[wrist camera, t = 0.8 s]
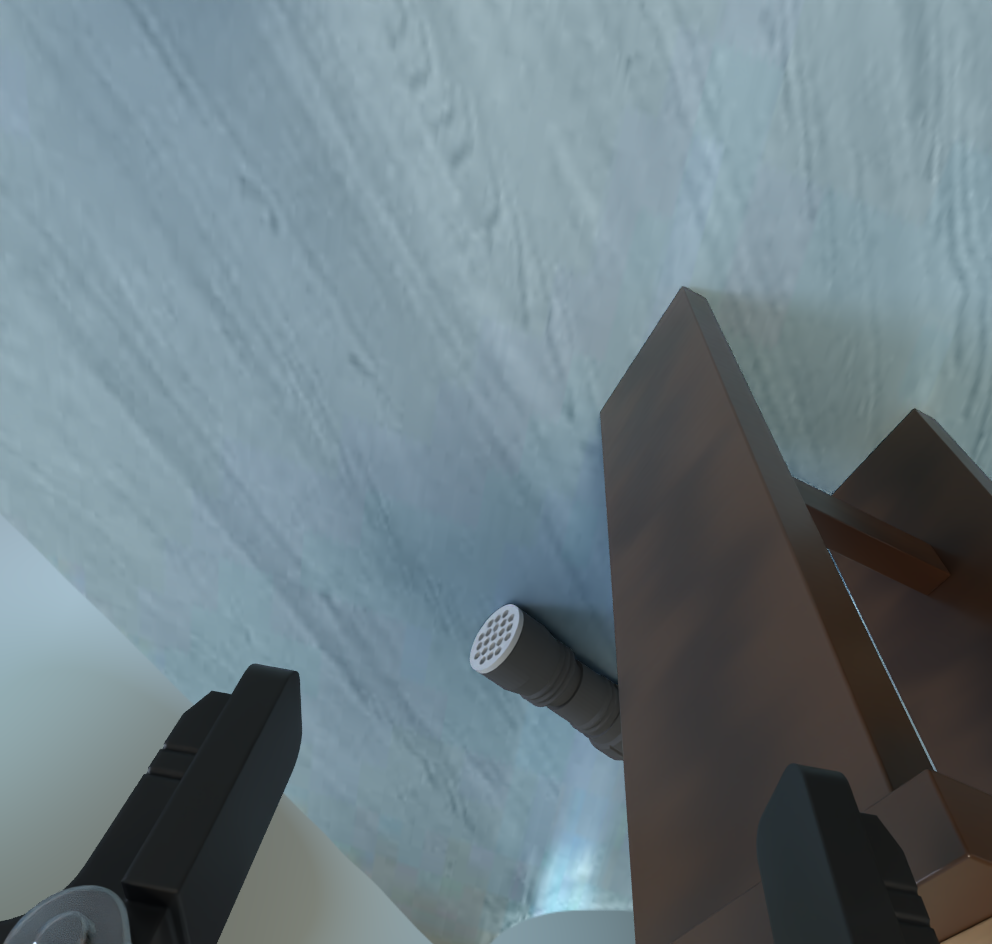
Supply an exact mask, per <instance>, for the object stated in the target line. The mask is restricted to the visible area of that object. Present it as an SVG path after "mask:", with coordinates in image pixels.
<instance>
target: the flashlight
mask: <svg viewBox="0 0 992 944" xmlns="http://www.w3.org/2000/svg"><path fill="white" fill-rule="evenodd" d="M470 664H471V666H472V668H473V669H474V670H476V671H477V672H479V673H481V674H482V675H484V676H485V677H487V678H488V679H490V680H491V681H493V682H494V683H496V684H497V685H499V686H500V687H502V688H503V689H505V690H508V691H511V692H514V693H517V694H520V695H521V696H522V697H523V698H524V699H527V701H529V702H530V703H532V704H533V705H535V706H538V707H544V706H547V707H548V708H549V709H550V710H552V711H553V712H555V713H556V714H558V715H559V716H561V717H562V718H564V719H565V720H567V721H568V722H570V724H571V725H572V726H573V727H574V728H575V729H577V730H578V731H580V732H581V733H583V734H584V735H585V736H586V737H588V738H589V740H590V742H591V743H592V745H593V746H594V747H595V748H597V749H598V750H600V751H601V752H603V753H604V754H606V755H607V756H609V757H610V758H612V759H614V760H623V747H622V732H621V717H620V702H619V687H618V685H617V684H615V683H613V682H612V681H610V680H608V679H607V678H606V677H604V676H602V675H598V674H597V673H595V672H594V671H593V670H591V669H590V668H588V667H587V666H586V665H584V664H583V663H581V662H580V661H578V660H576V659H575V656H574V653H573V651H572V650H571V649H570V648H569V647H567V646H566V645H565V644H563V643H561V642H560V641H559V640H557V639H555V638H554V637H553V636H552V635H551V634H550V632H549V631H548V630H547V629H546V627H544V626H543V625H542V624H540V623H539V622H538V621H536V620H535V619H533V618H532V617H531V616H529V615H528V614H526V613H525V612H524V611H522V610H521V609H519V608H518V607H517V606H515V605H513V604H508V605H505V606H503V607H501V608H500V609H498V610H497V611H496V612H494V613H493V614H492V615H491V616H490V617H489V618H488V620H487V621H486V622H485V623H484V625H483V626H482V628H481V629H480V631H479V632H478V634H477V636H476V638H475V640H474V643H473V646H472V649H471V654H470Z"/></svg>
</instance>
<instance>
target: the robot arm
mask: <svg viewBox="0 0 992 944" xmlns="http://www.w3.org/2000/svg"><path fill="white" fill-rule="evenodd" d="M301 738H302V718H301V696H300V677H299V673H298V672H297V671H293V670H287V669H282V668H276V667H271V666H265V665H260V664H252V665H250V666H249V667H248V668H247V670H246V671H245V673H244V674H243V676H242V678H241V679H240V681H239V683H238V684H237V686H236V688H235V689H234V691H233V693H232V694H227V693H221V692H216V691H211V692H210V693H209V694H207V695H206V696H205V697H204V698H202V699H201V700H200V701H199V702H197V703H196V704H195V705H194V706H192V707H191V708H190V709H189V710H187V711H186V712H185V713H184V714H183V715H182V716H181V718H180V720H179V721H178V723H177V724H176V726H175V727H174V729H173V730H172V732H171V733H170V735H169V737H168V738H167V740H166V741H165V743H164V747H163V749H160V750H159V752H158V753H157V755H156V757H155V758H154V760H153V761H152V763H151V764H150V766H149V767H148V772H147V774H144V775H143V776H142V778H141V780H140V781H139V783H138V785H137V786H136V787H135V789H134V790H133V792H132V793H131V795H130V796H129V798H128V800H127V801H126V803H125V804H124V806H123V807H122V809H121V810H120V812H119V814H118V815H117V817H116V818H115V820H114V821H113V823H112V824H111V826H110V827H109V829H108V830H107V832H106V833H105V835H104V837H103V838H102V840H101V841H100V843H99V844H98V846H97V847H96V849H95V851H94V852H93V853H92V855H91V857H90V858H89V860H88V861H87V863H86V864H85V866H84V867H83V868H82V870H81V871H80V873H79V874H78V875H77V876H76V878H75V879H74V880H73V881H72V882H71V883H70V884H69V885H68V886H67V887H66V888H65V889H63V890H62V891H60V892H58V893H56V894H54V895H51V896H50V897H48V898H47V899H45V900H43V901H41V902H40V903H38V904H37V905H36V906H35V907H33V908H32V909H31V910H29V911H28V912H27V913H26V914H24V915H21V916H18V917H15V918H13V919H9V920H5V921H0V944H217V942H218V939H219V937H220V935H221V933H222V930H223V928H224V926H225V924H226V922H227V919H228V917H229V915H230V912H231V910H232V908H233V905H234V903H235V901H236V899H237V896H238V894H239V892H240V890H241V887H242V885H243V883H244V880H245V878H246V876H247V874H248V871H249V869H250V867H251V864H252V862H253V860H254V858H255V855H256V853H257V851H258V849H259V846H260V844H261V842H262V839H263V837H264V835H265V833H266V830H267V828H268V826H269V824H270V821H271V819H272V817H273V815H274V812H275V810H276V808H277V806H278V803H279V801H280V799H281V796H282V794H283V792H284V790H285V787H286V785H287V783H288V780H289V778H290V776H291V774H292V771H293V769H294V766H295V763H296V760H297V757H298V753H299V749H300V744H301ZM756 849H757V859H758V865H759V870H760V875H761V880H762V885H763V890H764V895H765V900H766V905H767V910H768V915H769V920H770V925H771V929H772V934H773V939H774V944H940V943H939V941H938V938H937V936H936V933H935V931H934V928H931V927H930V918H929V915H928V913H927V910H926V908H925V905H924V902H923V900H922V897H921V896H919V895H918V892H917V890H918V887H917V885H916V882H915V879H914V877H913V874H912V872H911V869H910V867H909V864H908V862H907V859H906V856H905V854H904V851H903V850H902V848H901V847H900V846H899V844H898V843H897V842H896V840H895V839H894V838H893V836H892V835H891V834H890V832H889V831H888V830H887V828H886V827H885V826H884V824H883V823H882V822H881V821H880V819H879V818H878V817H877V815H871V814H866V813H861V812H859V810H858V807H857V804H856V801H855V798H854V795H853V792H852V790H851V787H850V784H849V782H848V780H847V778H846V777H845V776H844V774H842V773H841V772H838V771H833V770H828V769H822V768H816V767H811V766H805V765H800V764H794V763H791V764H789V765H788V766H787V767H786V769H785V770H784V772H783V774H782V776H781V778H780V780H779V782H778V784H777V786H776V788H775V790H774V792H773V794H772V796H771V798H770V800H769V802H768V804H767V806H766V808H765V810H764V812H763V814H762V816H761V818H760V821H759V824H758V829H757V839H756Z"/></svg>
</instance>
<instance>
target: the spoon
mask: <svg viewBox="0 0 992 944" xmlns="http://www.w3.org/2000/svg"><path fill="white" fill-rule="evenodd" d="M940 944H992V917H991V918H989V919H987V920H985V921H983V922H981V923H979V924H977V925H975V926H973V927H971V928H969V929H967V930H965V931H963V932H961V933H959V934H957V935H955V936H953V937H951V938H949V939H947V940H945V941H943V942H941V943H940Z"/></svg>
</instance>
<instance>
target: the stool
mask: <svg viewBox="0 0 992 944" xmlns="http://www.w3.org/2000/svg"><path fill="white" fill-rule="evenodd" d="M600 418H601V433H602V448H603V463H604V478H605V493H606V508H607V523H608V538H609V553H610V568H611V583H612V598H613V613H614V628H615V643H616V657H617V672H618V687H619V702H620V717H621V732H622V747H623V762H624V777H625V792H626V807H627V822H628V837H629V852H630V867H631V882H632V897H633V912H634V926H635V941H636V944H774V939H773V934H772V929H771V925H770V920H769V915H768V910H767V905H766V900H765V895H764V890H763V885H762V880H761V875H760V870H759V865H758V859H757V849H756V839H757V829H758V824H759V821H760V818H761V816H762V814H763V812H764V810H765V808H766V806H767V804H768V802H769V800H770V798H771V796H772V794H773V792H774V790H775V788H776V786H777V784H778V782H779V780H780V778H781V776H782V774H783V772H784V770H785V769H786V767H787V766H788V765H789V764H791V763H794V764H800V765H805V766H811V767H816V768H822V769H828V770H833V771H838V772H841V773H842V774H844V776H845V777H846V778H847V780H848V782H849V784H850V787H851V790H852V792H853V795H854V798H855V801H856V804H857V807H858V810H859V812H861V813H866V814H871V815H877V817H878V818H879V819H880V821H881V822H882V823H883V824H884V826H885V827H886V828H887V830H888V831H889V832H890V834H891V835H892V836H893V838H894V839H895V840H896V842H897V843H898V844H899V846H900V847H901V848H902V850H903V851H904V854H905V856H906V859H907V862H908V864H909V867H910V869H911V872H912V874H913V877H914V879H915V882H916V885H917V887H918V890H917V892H918V895H919V896H921V897H922V900H923V902H924V905H925V908H926V910H927V913H928V915H929V918H930V927H931V928H934V931H935V933H936V936H937V938H938V941H939V943H941V942H943V941H945V940H947V939H949V938H951V937H953V936H955V935H957V934H959V933H961V932H963V931H965V930H967V929H969V928H971V927H973V926H975V925H977V924H979V923H981V922H983V921H985V920H987V919H989V918H991V917H992V481H991V480H990V479H989V478H988V477H987V476H986V474H985V473H984V472H983V471H982V470H981V469H980V468H979V467H978V466H977V465H976V464H975V462H974V461H973V460H972V459H971V458H970V457H969V456H968V455H967V454H966V453H965V452H964V450H963V449H962V448H961V447H960V446H959V445H958V444H957V443H956V442H955V441H954V440H953V438H952V437H951V436H950V435H949V434H948V433H947V432H946V431H945V430H944V429H943V428H942V426H941V425H940V424H939V423H938V422H937V421H936V420H935V419H933V418H931V417H929V416H928V415H926V414H924V413H922V412H920V411H918V410H916V409H913V410H912V411H911V412H910V413H909V415H908V416H907V417H906V418H905V419H904V420H903V421H902V422H901V423H900V424H899V425H898V426H897V427H896V428H895V429H894V430H893V431H892V432H891V433H890V435H889V436H888V437H887V438H886V439H885V440H884V441H883V442H882V443H881V444H880V445H879V446H878V447H877V448H876V449H875V450H874V451H873V452H872V454H871V455H870V456H869V457H868V458H867V459H866V460H865V461H864V462H863V463H862V464H861V465H860V466H859V467H858V468H857V469H856V470H855V471H854V473H853V474H852V475H851V476H850V477H849V478H848V479H847V480H846V481H845V482H844V483H843V484H842V485H841V486H840V487H839V488H838V489H837V490H836V491H835V493H834V494H833V495H832V496H831V495H828V494H826V493H824V492H822V491H820V490H818V489H816V488H814V487H812V486H810V485H808V484H806V483H804V482H802V481H800V480H798V479H796V478H794V477H792V476H791V474H790V471H789V469H788V467H787V465H786V463H785V461H784V459H783V457H782V455H781V453H780V451H779V449H778V447H777V445H776V442H775V440H774V438H773V436H772V434H771V432H770V430H769V428H768V426H767V424H766V422H765V420H764V418H763V416H762V413H761V411H760V409H759V407H758V405H757V403H756V401H755V399H754V397H753V395H752V393H751V391H750V389H749V386H748V384H747V382H746V380H745V378H744V376H743V374H742V372H741V370H740V368H739V366H738V364H737V362H736V360H735V357H734V355H733V353H732V351H731V349H730V347H729V345H728V343H727V341H726V339H725V337H724V335H723V333H722V331H721V328H720V326H719V324H718V322H717V320H716V318H715V316H714V314H713V312H712V310H711V308H710V306H709V304H708V302H707V299H706V298H704V297H703V296H701V295H699V294H697V293H695V292H693V291H691V290H689V289H687V288H686V287H683V286H682V287H681V289H680V290H679V292H678V293H677V295H676V296H675V298H674V299H673V301H672V303H671V304H670V306H669V307H668V309H667V310H666V312H665V313H664V315H663V316H662V318H661V319H660V321H659V323H658V324H657V326H656V327H655V329H654V330H653V332H652V333H651V335H650V336H649V338H648V339H647V341H646V343H645V344H644V346H643V347H642V349H641V350H640V352H639V353H638V355H637V356H636V358H635V359H634V361H633V363H632V364H631V366H630V367H629V369H628V370H627V372H626V373H625V375H624V376H623V378H622V379H621V381H620V383H619V384H618V386H617V387H616V389H615V390H614V392H613V393H612V395H611V396H610V398H609V399H608V401H607V403H606V404H605V406H604V407H603V409H602V410H601V412H600ZM827 548H828V549H829V550H830V552H831V554H832V556H833V558H834V560H835V562H836V564H837V566H838V569H839V571H840V573H841V575H842V577H843V579H844V581H845V583H846V585H847V587H848V589H849V591H850V593H851V595H852V597H853V599H854V601H855V603H856V606H857V608H858V610H859V612H860V614H861V616H862V618H863V620H864V622H865V624H866V626H867V628H868V630H869V632H870V634H871V636H872V638H873V640H874V643H875V645H876V647H877V649H878V651H879V653H880V655H881V657H882V659H883V661H884V663H885V665H886V667H887V669H888V671H889V673H890V675H891V677H892V680H893V682H894V684H895V686H896V688H897V690H898V692H899V694H900V696H901V698H902V700H903V702H904V704H905V706H906V708H907V710H908V712H909V714H910V717H911V719H912V721H913V723H914V725H915V727H916V729H917V731H918V733H919V735H920V737H921V739H922V741H923V743H924V745H925V747H926V749H927V751H928V754H929V756H930V758H931V760H932V762H933V764H934V766H935V768H936V770H937V772H936V771H934V770H933V768H932V766H931V764H930V762H929V759H928V757H927V755H926V753H925V751H924V749H923V747H922V745H921V743H920V741H919V739H918V737H917V735H916V733H915V730H914V728H913V726H912V724H911V722H910V720H909V718H908V716H907V714H906V712H905V710H904V708H903V706H902V704H901V701H900V699H899V697H898V695H897V693H896V691H895V689H894V687H893V685H892V683H891V681H890V679H889V677H888V675H887V672H886V670H885V668H884V666H883V664H882V662H881V660H880V658H879V656H878V654H877V652H876V650H875V648H874V646H873V643H872V641H871V639H870V637H869V635H868V633H867V631H866V629H865V627H864V625H863V623H862V621H861V619H860V617H859V614H858V612H857V610H856V608H855V606H854V604H853V602H852V600H851V598H850V596H849V594H848V592H847V590H846V587H845V585H844V583H843V581H842V579H841V577H840V575H839V573H838V571H837V569H836V567H835V565H834V563H833V561H832V558H831V556H830V554H829V552H828V550H827Z"/></svg>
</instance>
